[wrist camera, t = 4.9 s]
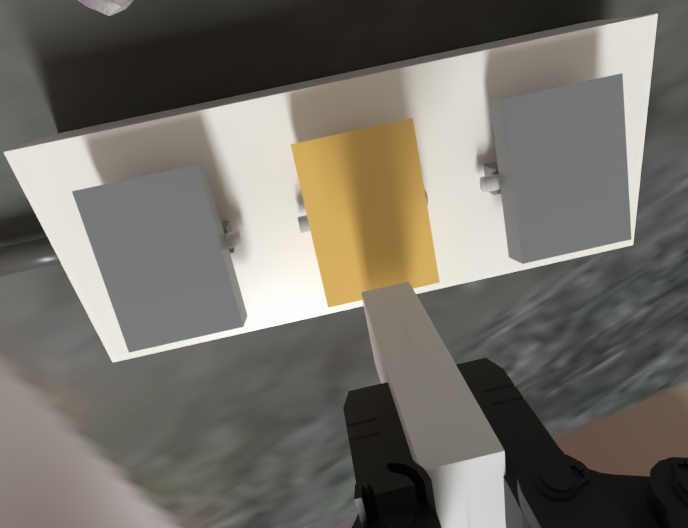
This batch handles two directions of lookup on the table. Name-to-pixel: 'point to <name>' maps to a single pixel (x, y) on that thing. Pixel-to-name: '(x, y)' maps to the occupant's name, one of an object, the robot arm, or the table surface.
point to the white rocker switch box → (317, 122)
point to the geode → (107, 5)
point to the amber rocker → (367, 210)
